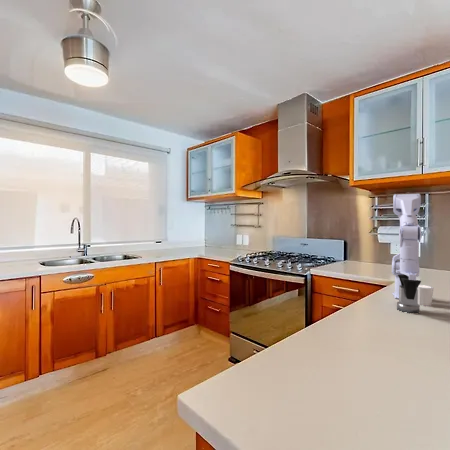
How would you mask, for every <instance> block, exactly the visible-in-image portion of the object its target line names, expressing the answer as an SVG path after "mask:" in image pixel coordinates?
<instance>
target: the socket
mask: <svg viewBox="0 0 450 450" xmlns="http://www.w3.org/2000/svg"><path fill="white" fill-rule="evenodd" d="M398 302H400V304H401V305H408V306H417V307H418V289H417V290H416V294H415V298H414V300H412V299H407V298H406V293H405V287H404V286H401V285H399V299H398Z"/></svg>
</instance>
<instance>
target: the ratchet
mask: <svg viewBox="0 0 450 450" xmlns="http://www.w3.org/2000/svg"><path fill="white" fill-rule="evenodd" d="M420 306H421V305H419V304H418V307H417V306H408V305H401V304H400V302H399V301H397V302H396V310H397V311H398V310H399V311H398V312H400V311H402V312H401V313H404V312H407V313H406V314H410V313H418V314H420V313H419V312H420V308H421V307H420Z"/></svg>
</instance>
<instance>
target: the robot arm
mask: <svg viewBox="0 0 450 450" xmlns="http://www.w3.org/2000/svg"><path fill="white" fill-rule="evenodd" d="M421 195H422V194H420V193H408V194H407V193H405V194H402V193H400V194H398V193H397V194H396V193H394V194H393V197H392V198H393V199H392V201H393V203H392V208H393V210H392V212H393V214H394V215H396V216H397V217H398V219H399V229H398V240H399V253H397V254H396V255H393V256H392V260H391V274H392V275H394V292H391V294H392V296H393V297H394V298H395V299H398V300H399V285H401V286H404V287H405V293H406V298H407V299H412V300H414V298H415V294H416V290H417V288H418V286H419V285H421V284H422V280H420V279H417V277H419V276H420V259H419V253H420V251H419V250H420V242H421V238H422V228H421V226H420V225H419V221H418V220H419V219H418V216H417V215H418V214H419V212H420V208H421V204H422V203H421V202H422V197H421Z"/></svg>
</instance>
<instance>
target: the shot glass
mask: <svg viewBox="0 0 450 450" xmlns="http://www.w3.org/2000/svg"><path fill="white" fill-rule="evenodd" d="M417 289H418V304H419V305H420V306H422V305H423V306H424V307H430V306H432V302H433V297H434V295H433V294H434V287H433V286H432V285H431V286H430V285H427V284H419V286H418V288H417Z"/></svg>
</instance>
